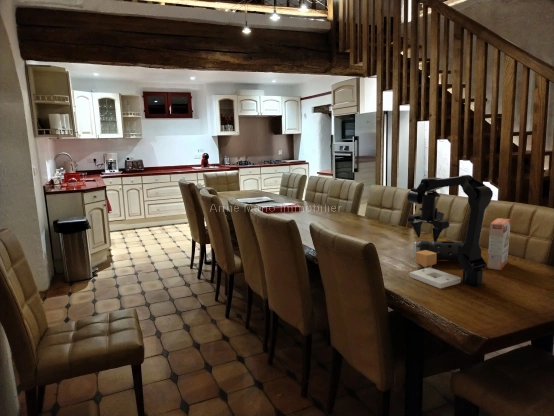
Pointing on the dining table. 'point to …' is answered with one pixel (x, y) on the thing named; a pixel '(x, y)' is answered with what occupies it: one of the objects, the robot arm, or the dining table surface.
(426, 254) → the plug
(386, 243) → the dining table surface
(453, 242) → the muzzle brake
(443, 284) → the socket plate
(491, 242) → the cracker box
